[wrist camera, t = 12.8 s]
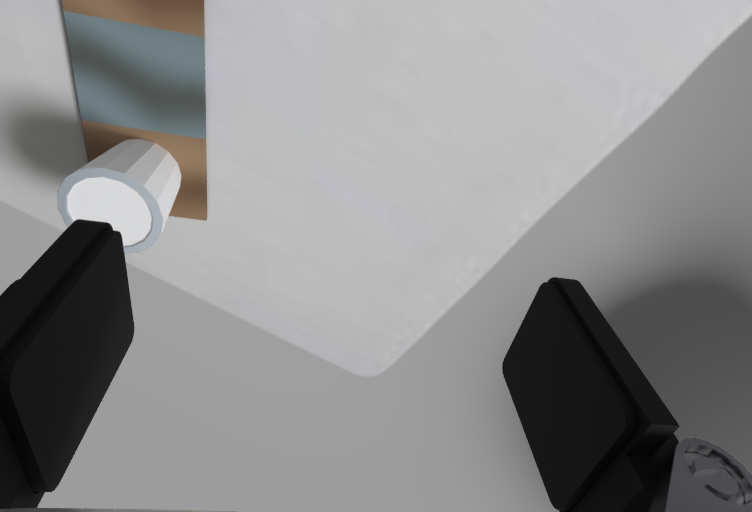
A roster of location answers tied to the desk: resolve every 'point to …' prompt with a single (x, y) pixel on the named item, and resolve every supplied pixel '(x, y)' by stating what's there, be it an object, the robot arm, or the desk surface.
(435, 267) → the desk surface
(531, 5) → the desk surface
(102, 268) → the robot arm
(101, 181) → the white cup
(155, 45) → the game board
